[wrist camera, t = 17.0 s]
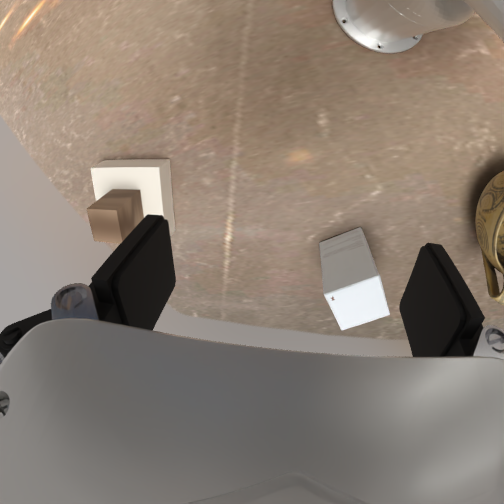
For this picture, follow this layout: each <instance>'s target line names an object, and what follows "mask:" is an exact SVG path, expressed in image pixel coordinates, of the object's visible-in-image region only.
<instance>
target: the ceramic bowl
mask: <svg viewBox="0 0 504 504" xmlns="http://www.w3.org/2000/svg"><path fill="white" fill-rule="evenodd" d="M475 222H476V233H477V239H478V242H479V244H480V246H481V251H482V255H483V262H484V267H485V273H486V279H487V287H488V292H489V295H490V297H491V298H493V299H494V300H495V301H497V302H498V303H499V304H501V305H504V284H503V289H502V291H501V293H500V292H499V286H498V281H497V276H496V273H495V269H494V268H496V269H497V270H498V271H499V272H501V273H502V274H503V277H504V171H503V172H500V173H499V174H497V175H496V176H495V177H493V178H492V179H491V181H490V182H489V183H488V184H487V185H486V187H485V189H484V190H483V192H482V194H481V196H480V199H479V202H478V205H477V211H476V219H475Z"/></svg>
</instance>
